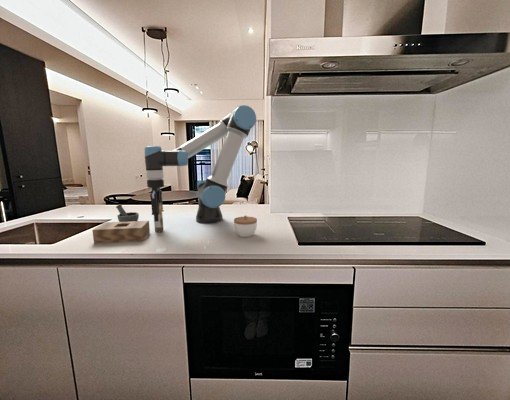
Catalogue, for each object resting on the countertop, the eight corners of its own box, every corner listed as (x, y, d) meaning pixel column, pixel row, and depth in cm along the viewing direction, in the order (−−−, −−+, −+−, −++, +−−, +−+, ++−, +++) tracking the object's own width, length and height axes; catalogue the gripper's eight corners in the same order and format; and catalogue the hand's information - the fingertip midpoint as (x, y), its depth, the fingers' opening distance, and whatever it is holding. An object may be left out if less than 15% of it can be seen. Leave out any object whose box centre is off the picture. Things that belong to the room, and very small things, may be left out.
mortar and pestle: (143, 225, 137) (141, 203, 135) (131, 230, 128) (129, 206, 126) (124, 224, 139) (122, 202, 137) (112, 229, 130) (109, 206, 128)
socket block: (149, 232, 124) (148, 220, 123) (142, 240, 112) (141, 227, 111) (106, 234, 121) (104, 222, 120) (94, 243, 110) (92, 229, 109)
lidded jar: (261, 234, 120) (261, 215, 118) (245, 240, 112) (245, 220, 110) (245, 230, 127) (245, 212, 125) (229, 235, 119) (229, 216, 117)
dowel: (164, 229, 129) (162, 202, 126) (162, 232, 125) (160, 204, 122) (155, 229, 128) (153, 202, 126) (153, 232, 124) (151, 204, 122)
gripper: (151, 177, 130) (155, 221, 134) (141, 181, 113) (146, 231, 117) (166, 177, 131) (170, 221, 135) (159, 180, 114) (162, 230, 118)
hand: (158, 225), depth 126 cm, fingers closed on dowel, 4 cm apart
